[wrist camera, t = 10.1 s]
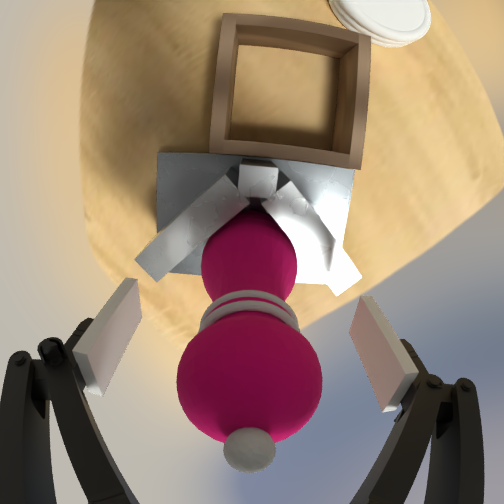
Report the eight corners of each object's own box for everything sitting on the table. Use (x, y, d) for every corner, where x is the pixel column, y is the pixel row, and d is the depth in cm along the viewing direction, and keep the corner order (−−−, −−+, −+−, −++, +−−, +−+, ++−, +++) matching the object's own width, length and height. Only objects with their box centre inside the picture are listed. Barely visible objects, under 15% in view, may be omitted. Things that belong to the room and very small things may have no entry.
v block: (162, 265, 28) (138, 304, 21) (161, 151, 23) (129, 158, 17) (330, 279, 28) (350, 320, 22) (350, 168, 24) (384, 180, 17)
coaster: (412, 64, 20) (430, 58, 17) (318, 26, 19) (328, 12, 16) (417, -4, 16) (433, -14, 13) (332, -40, 15) (341, -56, 12)
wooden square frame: (228, 35, 19) (223, 13, 15) (350, 52, 20) (371, 36, 15) (216, 150, 24) (208, 152, 19) (340, 163, 24) (360, 170, 19)
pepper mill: (201, 269, 26) (141, 480, 8) (219, 194, 24) (133, 386, 5) (275, 287, 27) (306, 499, 9) (300, 216, 25) (405, 417, 6)
